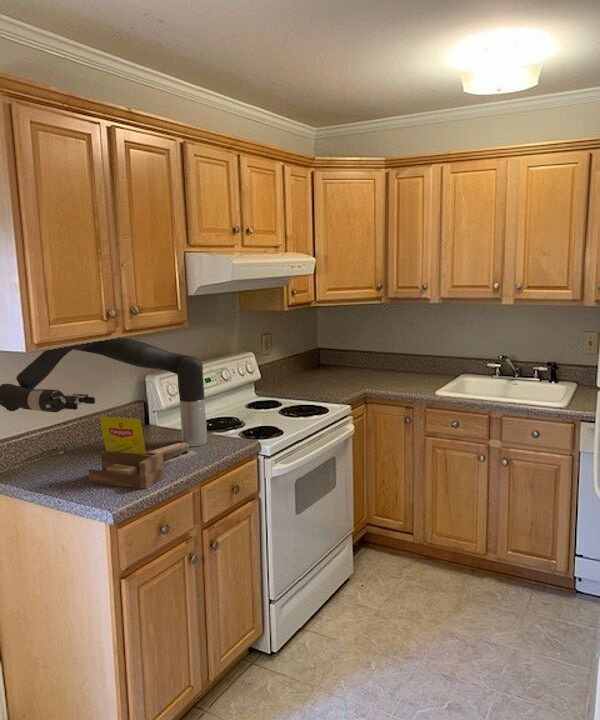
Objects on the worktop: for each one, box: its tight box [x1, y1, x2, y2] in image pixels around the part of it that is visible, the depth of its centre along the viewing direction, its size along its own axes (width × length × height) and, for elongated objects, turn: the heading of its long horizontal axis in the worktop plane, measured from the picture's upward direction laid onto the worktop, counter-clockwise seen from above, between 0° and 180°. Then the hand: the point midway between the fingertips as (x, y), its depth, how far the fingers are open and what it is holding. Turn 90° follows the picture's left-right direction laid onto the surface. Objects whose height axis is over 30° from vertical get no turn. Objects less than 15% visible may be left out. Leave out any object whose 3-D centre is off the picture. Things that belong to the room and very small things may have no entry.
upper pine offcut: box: [106, 464, 138, 474], centre depth 186 cm, size 4×9×2 cm, turn 64°
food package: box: [99, 416, 147, 455], centre depth 189 cm, size 15×1×20 cm, turn 70°
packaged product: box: [148, 442, 197, 467], centre depth 207 cm, size 18×5×10 cm
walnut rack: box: [88, 450, 165, 490], centre depth 187 cm, size 10×21×8 cm, turn 71°
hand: (85, 403), depth 193 cm, fingers open, 8 cm apart
